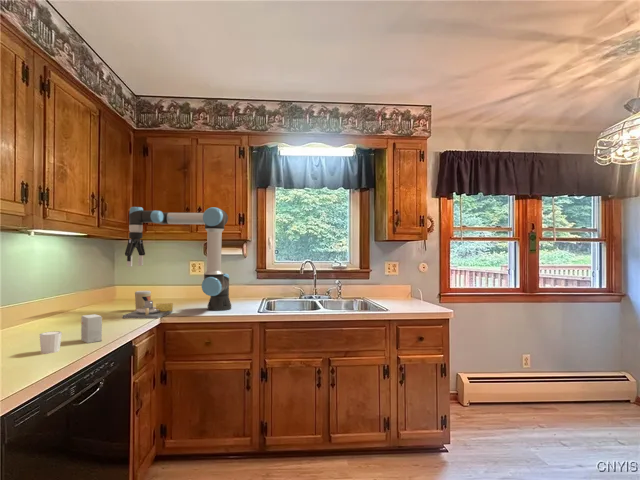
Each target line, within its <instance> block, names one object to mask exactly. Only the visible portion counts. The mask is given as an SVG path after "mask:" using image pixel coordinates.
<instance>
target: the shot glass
mask: <svg viewBox="0 0 640 480" xmlns="http://www.w3.org/2000/svg"><path fill="white" fill-rule="evenodd" d="M62 335H63V333H62V331H55V330H54V331H47V332H41V333H40V334H39V342H40V343H39V344H40V354H47V355H49V354H53V353H58V352H60V350H61V349H60V348H61V342H62Z"/></svg>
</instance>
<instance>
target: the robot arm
mask: <svg viewBox="0 0 640 480" xmlns="http://www.w3.org/2000/svg"><path fill="white" fill-rule="evenodd" d="M128 215H129V216H128V217H129V218H128V221H129V223H128V225H129V226H128V228H129V229H128V231H129V233H128V238H129V239H127V245H126V248H125V252H124V255H125V257H126V268H128V267H130V268H131V267H133V253H134V251H135V248H136V250H137V253H138V255H137V256H138V257H137V259H138V260H137V266H138V267H142V266H144V256H146V251H145V246H144V241H143V235H144V234H143V230H144V229H143V227H144V226H143V224H144V223H147V224H149V223H150V224H151V223H152V224H159V225H204V230H205V231H206V232H207V234H206V235H207V236H206V238H207V239H206V240H207V241H206V271H204V274H203V281H202V283H201V290H202V292H203V293H204V294H205V295H206V296H209V300H208V304H207V311H229V310H231V309H232V303H231V299H230V275H229V273H224V272H223V271H222V245H223V244H222V243H223V242H222V238H223V237H222V233H223V231H224V230H225V225H227V224H228V221H229V215H228V214H227V212H226V211H225V210H223V209H221V208H219V207H209V208H207V209H206V210H205V211H204V212H163V211H162V210H144V208H143V207H141V206H131V207H130V208H129V214H128Z"/></svg>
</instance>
